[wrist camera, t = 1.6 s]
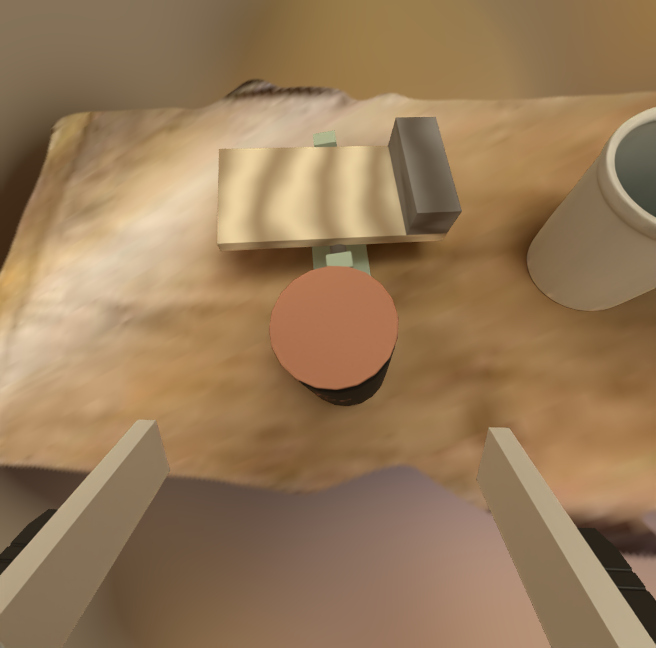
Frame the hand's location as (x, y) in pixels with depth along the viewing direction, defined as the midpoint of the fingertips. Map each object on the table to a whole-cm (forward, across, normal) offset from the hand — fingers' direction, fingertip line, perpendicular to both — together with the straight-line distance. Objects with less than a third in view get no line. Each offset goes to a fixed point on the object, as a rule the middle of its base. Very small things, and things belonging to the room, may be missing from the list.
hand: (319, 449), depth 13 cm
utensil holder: (+35, +33, -1) cm, 48 cm away
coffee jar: (+28, +1, -13) cm, 30 cm away
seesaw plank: (+36, -1, +7) cm, 36 cm away
